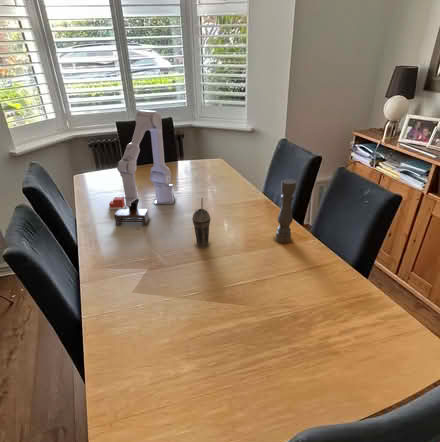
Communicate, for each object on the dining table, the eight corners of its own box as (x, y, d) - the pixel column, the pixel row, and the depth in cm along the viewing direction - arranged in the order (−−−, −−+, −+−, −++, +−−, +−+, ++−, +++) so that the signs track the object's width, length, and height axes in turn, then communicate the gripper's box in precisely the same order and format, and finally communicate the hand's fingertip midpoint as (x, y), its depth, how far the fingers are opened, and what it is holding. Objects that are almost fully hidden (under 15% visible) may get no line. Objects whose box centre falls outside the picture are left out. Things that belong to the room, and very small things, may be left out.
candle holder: (290, 243, 150) (296, 184, 135) (275, 242, 151) (280, 183, 136) (290, 236, 155) (297, 179, 140) (276, 235, 156) (281, 178, 141)
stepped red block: (125, 206, 184) (124, 196, 181) (123, 209, 181) (122, 199, 178) (111, 206, 184) (109, 196, 181) (109, 209, 181) (107, 199, 178)
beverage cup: (190, 246, 148) (187, 200, 137) (199, 239, 154) (197, 194, 142) (205, 250, 146) (204, 203, 134) (214, 243, 151) (213, 197, 139)
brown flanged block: (148, 219, 171) (147, 209, 168) (146, 225, 166) (144, 215, 163) (119, 218, 172) (118, 209, 169) (116, 225, 166) (114, 215, 163)
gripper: (125, 181, 170) (129, 208, 178) (117, 192, 158) (122, 221, 166) (139, 181, 170) (143, 208, 178) (133, 192, 158) (137, 221, 166)
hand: (134, 214), depth 172 cm, fingers closed
